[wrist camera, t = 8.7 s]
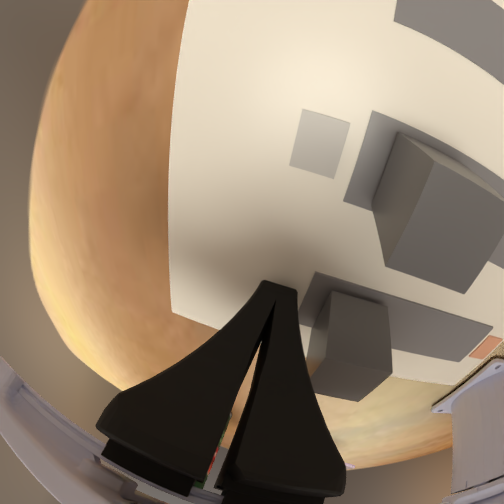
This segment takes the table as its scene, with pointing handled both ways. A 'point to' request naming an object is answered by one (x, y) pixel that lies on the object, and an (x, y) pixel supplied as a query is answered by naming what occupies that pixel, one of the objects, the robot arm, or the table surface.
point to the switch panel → (331, 160)
